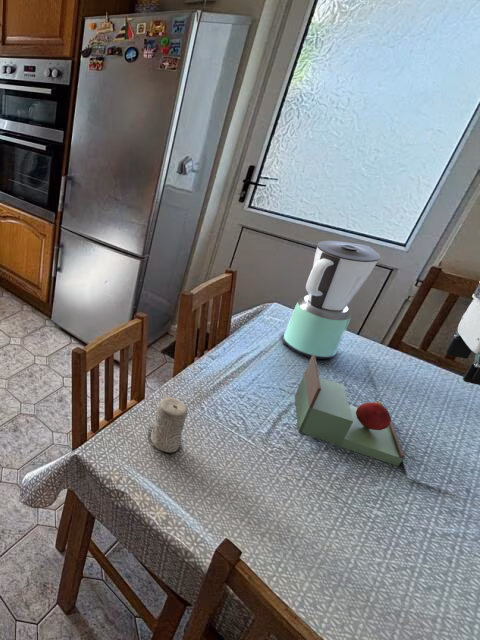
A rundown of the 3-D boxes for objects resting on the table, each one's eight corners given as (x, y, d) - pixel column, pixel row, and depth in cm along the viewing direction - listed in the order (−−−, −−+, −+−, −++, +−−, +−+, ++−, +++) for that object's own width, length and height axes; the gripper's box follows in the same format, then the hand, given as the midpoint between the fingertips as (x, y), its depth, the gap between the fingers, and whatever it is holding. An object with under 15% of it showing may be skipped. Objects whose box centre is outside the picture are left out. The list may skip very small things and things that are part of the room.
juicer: (302, 331, 137) (341, 234, 122) (348, 355, 126) (397, 251, 111) (262, 344, 131) (298, 244, 116) (306, 370, 120) (352, 263, 105)
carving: (179, 437, 99) (190, 399, 94) (177, 461, 93) (188, 422, 88) (151, 427, 102) (160, 390, 97) (147, 450, 96) (156, 412, 91)
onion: (389, 434, 96) (404, 408, 93) (372, 440, 95) (386, 414, 91) (361, 415, 101) (375, 391, 98) (345, 421, 100) (357, 396, 96)
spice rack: (384, 424, 102) (408, 380, 96) (398, 466, 91) (427, 420, 85) (294, 396, 111) (312, 354, 105) (298, 431, 100) (318, 387, 94)
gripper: (562, 324, 69) (512, 402, 76) (514, 282, 82) (474, 352, 89) (496, 312, 73) (453, 388, 80) (459, 274, 86) (426, 341, 93)
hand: (464, 369), depth 84 cm, fingers open, 9 cm apart
